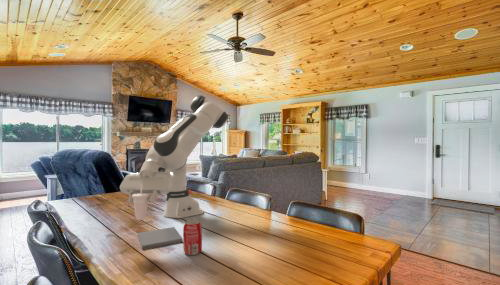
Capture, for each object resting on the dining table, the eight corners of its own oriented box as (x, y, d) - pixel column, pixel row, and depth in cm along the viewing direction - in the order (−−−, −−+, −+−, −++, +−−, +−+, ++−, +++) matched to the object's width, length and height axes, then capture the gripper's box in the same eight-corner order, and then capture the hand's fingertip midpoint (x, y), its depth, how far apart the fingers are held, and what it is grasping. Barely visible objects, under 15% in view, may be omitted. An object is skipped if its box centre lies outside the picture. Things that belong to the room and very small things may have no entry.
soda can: (194, 246, 105) (194, 217, 104) (205, 251, 100) (205, 221, 100) (179, 252, 99) (179, 221, 99) (191, 258, 95) (191, 225, 94)
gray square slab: (174, 230, 124) (174, 227, 124) (182, 241, 110) (182, 238, 110) (138, 236, 116) (137, 232, 116) (141, 249, 102) (141, 245, 102)
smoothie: (151, 216, 105) (151, 182, 105) (145, 221, 99) (145, 184, 99) (136, 216, 105) (136, 182, 105) (129, 221, 99) (128, 184, 99)
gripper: (124, 168, 109) (111, 196, 100) (171, 169, 108) (163, 197, 99) (129, 177, 114) (117, 205, 104) (175, 177, 113) (167, 206, 103)
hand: (140, 201), depth 101 cm, fingers closed on smoothie, 6 cm apart
